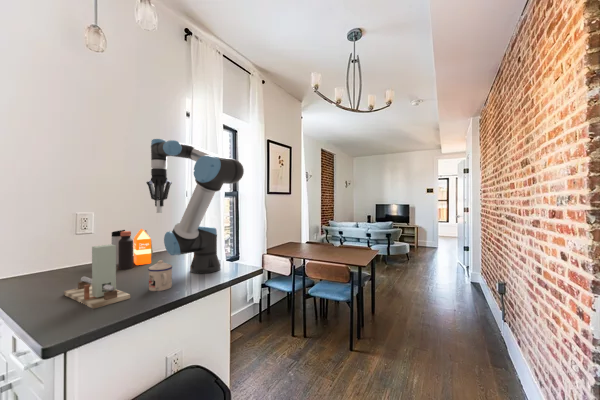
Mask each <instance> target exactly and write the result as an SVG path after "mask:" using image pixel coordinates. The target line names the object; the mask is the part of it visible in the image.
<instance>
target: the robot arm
mask: <svg viewBox="0 0 600 400" xmlns="http://www.w3.org/2000/svg"><path fill="white" fill-rule="evenodd" d="M150 153H151V154H150V159H151V161H150V164H151V165H150V168H151V169H150V175H151V178H150V179H149V181H146V185H147V186H148V189H149V195H150V198H151V200H154V205H155V206H154V207H156V214H160V213H161V214H162V213H163V207H164V202H165V200H167V199H168V197H169V192H170V188H171V185H172V184H173V182H172V181H170V180H168V177H167V176H168V169H167V168H168V157H175V158H183V159H189V160H192V161H194V162H195V163H194V167H193V177H194V180H195V183H196V185H195V188H194V189H193V192H192V194H191V197H190V199H189V202H188V203H187V206H186V208H185V211H184V212H183V214H182V217H181V220H180V222H179V223H176V224H175V225H174V227H173V229H172V230H169V231H165V232H166V233H164V237H163V243H164V248H165V250H166V253H167V254H169V255H170V256H181V255H185V254H190V253H191V254H192V253H193V257H192V261H191V263H190V266H189V267H190V268H189V272H190V273H193V274H209V273H210V274H211V273H215V272H218V271H220V270H221V263H220V260H219V257H218V242H217V241H218V232H217V228H216V227H214V226H204V225H203V226H200V225H201V224H202V221H203V219H204V217H205V214H206V212H207V210H208V209H209V206H210V204H211V202H212V200H213V198H214V196H215V194H216V193H217V192H219V191H221V190H222V187H223V186H224V184H226V185H227V184H236V183H238V182H240V180H241V179H242V178H243V177H244V174H245V173H244V172H245V169H244V165H243V164H242V163H241V162H240V161H239V160H237V159H234V158H230V157H222V156H220V155H219V154H216V153H213V152H212V151H211V152H210V151H208V150H205V149H203V148H202V147H201V146H199V145H196V144H194V145H193V144H186V143H182V142H179V141H178V140H175V139H174V140H173V139H172V140H171V139H170V140H166V139H164V138H153V139H151V145H150Z"/></svg>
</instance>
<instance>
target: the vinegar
mask: <svg viewBox="0 0 600 400" xmlns="http://www.w3.org/2000/svg"><path fill="white" fill-rule="evenodd" d="M120 233H121V239H120V240H119V242H118V250H119V266H118V270H120V271H121V270H122V271H123V270H124V271H126V270H130V269H133V268H134V239H132V238H131V237H132V231H131V230H125V231H123V232H120Z"/></svg>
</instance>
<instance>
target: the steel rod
mask: <svg viewBox="0 0 600 400" xmlns="http://www.w3.org/2000/svg"><path fill="white" fill-rule="evenodd" d="M80 282H85V283H88V284H90V285H92V277H91V278H90V277H87V276H85V275H84V276H82V277H80ZM102 289H104V290H107V291H109V292H112V291H113V290H114V286H111V285H108V284H106V283H105V284H102Z"/></svg>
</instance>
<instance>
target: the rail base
mask: <svg viewBox="0 0 600 400" xmlns="http://www.w3.org/2000/svg"><path fill="white" fill-rule="evenodd" d="M63 292H64V293H63V295H64V296H66V297H68V298H70V299H72V300H74V301H77V302H78V303H80V302H81V303H80V304H82V303H83V304H82V305H84V304H85V306H86V305H87V307H88V308H91V309H98V308H101V307H104V306H109V305H113V304H115V303H118V302H123V301H126V300H129V299H131V294H130V293H127V292H126V291H122V290H119V289H117V288H116V290H113V291H112V292H109V291H108V292H104V296H101V297H94V296H92V285H91V284H88V283H85V282H82V281H78V282H77V287H76V288H72V289H67V290H64V291H63Z"/></svg>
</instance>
